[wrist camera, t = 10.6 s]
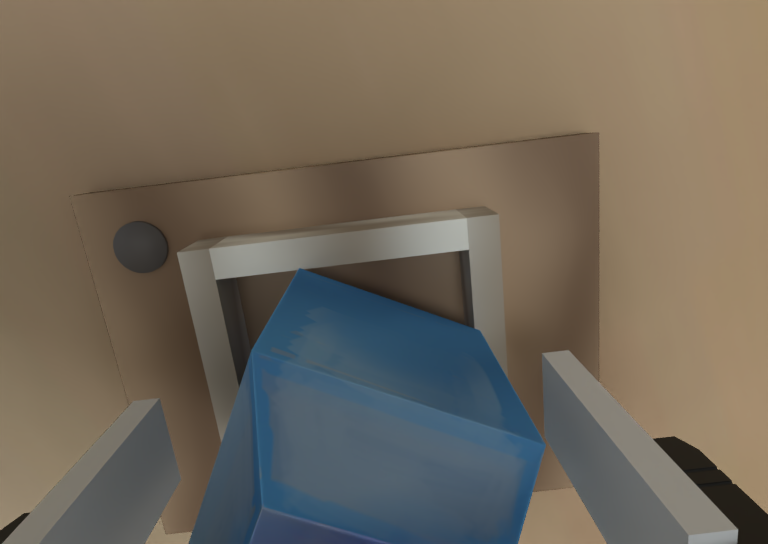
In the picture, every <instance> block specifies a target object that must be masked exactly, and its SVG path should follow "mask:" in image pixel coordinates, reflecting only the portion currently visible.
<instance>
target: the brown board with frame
mask: <svg viewBox="0 0 768 544" xmlns="http://www.w3.org/2000/svg"><path fill="white" fill-rule="evenodd" d="M69 197H70V200H71V204H72V207H73V211H74V214H75V218H76V221H77V225H78V228H79V232H80V235H81V239H82V242H83V246H84V249H85V253H86V256H87V260H88V263H89V267H90V270H91V274H92V277H93V281H94V284H95V288H96V291H97V295H98V298H99V302H100V305H101V309H102V312H103V316H104V319H105V323H106V326H107V330H108V333H109V337H110V340H111V344H112V347H113V351H114V354H115V358H116V361H117V365H118V368H119V372H120V375H121V379H122V382H123V386H124V389H125V393H126V396H127V400H128V403H129V405H130V404H131V403H132V402H133V401H139V400H147V399H156V398H160V401H161V405H162V409H163V412H164V416H165V420H166V424H167V428H168V431H169V435H170V439H171V443H172V446H173V450H174V454H175V458H176V461H177V465H178V469H179V473H180V476H181V480H180V482H179V484H178V486H177V487H176V489H175V491H174V493H173V494H172V496H171V498H170V500H169V502H168V503H167V505H166V507H165V509H164V510H163V512H162V514H161V519H162V523H163V526H164V530H165V533H166V534H173V533H182V532H191V531H193V529H194V526H195V523H196V519H197V516H198V513H199V510H200V507H201V504H202V501H203V498H204V495H205V492H206V489H207V486H208V483H209V479H210V476H211V473H212V470H213V467H214V464H215V461H216V458H217V455H218V452H219V449H220V446H221V443H222V439H223V436H224V433H225V430H226V427H227V424H228V421H229V418H230V415H231V412H232V409H233V406H234V403H235V399H236V396H237V393H238V390H239V387H240V384H241V381H242V378H243V375H244V372H245V369H246V366H247V363H248V359H249V356H250V353H251V350H252V348H253V347H254V345H255V343H256V342H257V340H258V338H259V336H260V335H261V333H262V331H263V329H264V328H265V326H266V324H267V323H268V321H269V319H270V317H271V316H272V314H273V312H274V310H275V309H276V307H277V305H278V304H279V302H280V300H281V298H282V297H283V295H284V293H285V291H286V290H287V288H288V286H289V285H290V283H291V281H292V279H293V278H294V276H295V274H296V272H297V271H298V269H299V268H301V269H304V270H307V271H309V272H312V273H315V274H318V275H321V276H324V277H327V278H330V279H333V280H335V281H338V282H341V283H344V284H347V285H350V286H353V287H356V288H359V289H362V290H364V291H367V292H370V293H373V294H376V295H379V296H382V297H385V298H388V299H391V300H393V301H396V302H399V303H402V304H405V305H408V306H411V307H414V308H417V309H420V310H422V311H425V312H428V313H431V314H434V315H437V316H440V317H443V318H446V319H448V320H451V321H454V322H457V323H460V324H463V325H466V326H469V327H472V328H475V329H477V330H480V331H481V333H482V334H483V336H484V338H485V340H486V341H487V343H488V345H489V347H490V348H491V350H492V352H493V354H494V355H495V357H496V359H497V361H498V362H499V364H500V366H501V367H502V369H503V371H504V373H505V374H506V376H507V378H508V380H509V381H510V383H511V385H512V387H513V388H514V390H515V392H516V394H517V395H518V397H519V399H520V401H521V402H522V404H523V406H524V407H525V409H526V411H527V413H528V414H529V416H530V418H531V420H532V421H533V423H534V425H535V427H536V428H537V430H538V432H539V434H540V435H541V437H542V439H543V440H544V442H545V444H546V447H545V450H544V454H543V457H542V461H541V464H540V468H539V471H538V475H537V478H536V482H535V485H534V489H533V492H537V491H546V490H555V489H563V488H572V487H574V486H573V484H572V483H571V481H570V479H569V478H568V476H567V474H566V472H565V471H564V469H563V467H562V466H561V464H560V462H559V461H558V459H557V457H556V455H555V454H554V452H553V450H552V449H551V447H550V445H549V443H548V442H547V440H546V438H545V432H544V402H543V372H542V353H548V352H556V351H565V350H569V351H570V352H571V353H572V354H573V355H574V356H575V357H576V359H577V360H578V361H579V362H580V363H581V364H582V365H583V366H584V367H585V368H586V369H587V370H588V371H589V372H590V373H591V374H592V375H593V376H594V378H595V379H596V380H597V381H598V382H599V133H582V134H573V135H565V136H557V137H548V138H540V139H532V140H523V141H515V142H507V143H499V144H490V145H482V146H474V147H465V148H457V149H449V150H440V151H432V152H424V153H415V154H407V155H399V156H391V157H382V158H374V159H366V160H357V161H349V162H341V163H332V164H324V165H316V166H307V167H299V168H291V169H283V170H274V171H266V172H258V173H249V174H241V175H233V176H224V177H216V178H208V179H200V180H191V181H183V182H175V183H166V184H158V185H150V186H141V187H133V188H125V189H116V190H108V191H100V192H92V193H85V194H80V195H74V196H69Z"/></svg>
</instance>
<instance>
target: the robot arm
mask: <svg viewBox="0 0 768 544" xmlns="http://www.w3.org/2000/svg"><path fill="white" fill-rule="evenodd" d="M542 372H543V402H544V432H545V438H546V440H547V442H548V443H549V445H550V447H551V449H552V450H553V452H554V454H555V455H556V457H557V459H558V461H559V462H560V464H561V466H562V467H563V469H564V471H565V472H566V474H567V476H568V478H569V479H570V481H571V483H572V484H573V486H574V488H575V489H576V491H577V493H578V495H579V496H580V498H581V500H582V501H583V503H584V505H585V507H586V508H587V510H588V512H589V513H590V515H591V517H592V518H593V520H594V522H595V524H596V525H597V527H598V529H599V530H600V532H601V534H602V536H603V537H604V539H605V541H606V542H607V544H768V514H767V513H766V512H765V511H764V510H762V509H761V508H760V507H759V506H758V505H757V504H756V503H755V502H754V501H753V500H752V499H751V498H750V497H749V496H748V495H747V494H745V493H744V492H743V491H742V490H741V489H740V488H739V487H738V486H737V485H736V484H732V481H731V479H729V478H728V477H727V476H726V475H725V474H724V473H723V472H722V471H721V470H718V469H717V466H716V465H715V464H714V463H712V462H711V461H710V460H709V459H708V458H707V457H706V456H705V455H704V454H703V453H702V452H701V451H700V450H699V449H697V448H695V447H693V446H691V445H689V444H687V443H686V442H684V441H682V440H680V439H678V438H676V437H675V436H674V437H665V438H656V439H652V438H651V437H650V436H649V435H648V434H647V433H646V431H645V430H644V429H643V428H642V427H641V426H640V425H639V424H638V423H637V422H636V421H635V420H634V419H633V418H632V417H631V416H630V415H629V413H628V412H627V411H626V410H625V409H624V408H623V407H622V406H621V405H620V404H619V403H618V402H617V401H616V400H615V399H614V398H613V397H612V396H611V394H610V393H609V392H608V391H607V390H606V389H605V388H604V387H603V386H602V385H601V384H600V383H599V382H598V381H597V380H596V379H595V378H594V376H593V375H592V374H591V373H590V372H589V371H588V370H587V369H586V368H585V367H584V366H583V365H582V364H581V363H580V362H579V361H578V360H577V359H576V357H575V356H574V355H573V354H572V353H571V352H570V351H569V350H565V351H556V352H548V353H542ZM180 480H181V476H180V473H179V469H178V465H177V461H176V458H175V454H174V450H173V446H172V443H171V439H170V435H169V431H168V428H167V424H166V420H165V416H164V412H163V409H162V405H161V401H160V398H156V399H147V400H139V401H133V402H132V403H131V404H130V405H129V406H128V407H127V409H126V410H125V411H124V412H123V413H122V414H121V415H120V416H119V417H118V418H117V419H116V420H115V422H114V423H113V424H112V425H111V426H110V427H109V428H108V429H107V430H106V431H105V432H104V434H103V435H102V436H101V437H100V438H99V439H98V440H97V441H96V442H95V443H94V444H93V445H92V447H91V448H90V449H89V450H88V451H87V452H86V453H85V454H84V455H83V456H82V457H81V458H80V460H79V461H78V462H77V463H76V464H75V465H74V466H73V467H72V468H71V469H70V470H69V471H68V473H67V474H66V475H65V476H64V477H63V478H62V479H61V480H60V481H59V482H58V483H57V484H56V486H55V487H54V488H53V489H52V490H51V491H50V492H49V493H48V494H47V495H46V496H45V497H44V499H43V500H42V501H41V502H40V503H39V504H38V505H37V506H36V507H35V508H34V509H33V511H32V512H31V513H24V514H22V515H21V516H20V517H18V518H17V519H16V520H14V521H13V522H11V523H10V524H9V525H7V526H6V527H4V528H3V529H2V530H0V544H145V542H146V540H147V539H148V537H149V535H150V533H151V532H152V530H153V528H154V526H155V525H156V523H157V521H158V519H159V517H160V516H161V514H162V512H163V510H164V509H165V507H166V505H167V503H168V502H169V500H170V498H171V496H172V494H173V493H174V491H175V489H176V487H177V486H178V484H179V482H180Z"/></svg>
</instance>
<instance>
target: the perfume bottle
mask: <svg viewBox="0 0 768 544" xmlns="http://www.w3.org/2000/svg"><path fill="white" fill-rule="evenodd" d="M545 447H546V444H545V442H544V440H543V439H542V437H541V435H540V434H539V432H538V430H537V428H536V427H535V425H534V423H533V421H532V420H531V418H530V416H529V414H528V413H527V411H526V409H525V407H524V406H523V404H522V402H521V401H520V399H519V397H518V395H517V394H516V392H515V390H514V388H513V387H512V385H511V383H510V381H509V380H508V378H507V376H506V374H505V373H504V371H503V369H502V367H501V366H500V364H499V362H498V361H497V359H496V357H495V355H494V354H493V352H492V350H491V348H490V347H489V345H488V343H487V341H486V340H485V338H484V336H483V334H482V333H481V331H480V330H477V329H475V328H472V327H469V326H466V325H463V324H460V323H457V322H454V321H451V320H448V319H446V318H443V317H440V316H437V315H434V314H431V313H428V312H425V311H422V310H420V309H417V308H414V307H411V306H408V305H405V304H402V303H399V302H396V301H393V300H391V299H388V298H385V297H382V296H379V295H376V294H373V293H370V292H367V291H364V290H362V289H359V288H356V287H353V286H350V285H347V284H344V283H341V282H338V281H335V280H333V279H330V278H327V277H324V276H321V275H318V274H315V273H312V272H309V271H307V270H304V269H301V268H299V269H298V271H297V272H296V274H295V276H294V278H293V279H292V281H291V283H290V285H289V286H288V288H287V290H286V291H285V293H284V295H283V297H282V298H281V300H280V302H279V304H278V305H277V307H276V309H275V310H274V312H273V314H272V316H271V317H270V319H269V321H268V323H267V324H266V326H265V328H264V329H263V331H262V333H261V335H260V336H259V338H258V340H257V342H256V343H255V345H254V347H253V348H252V350H251V353H250V356H249V359H248V363H247V366H246V369H245V372H244V375H243V378H242V381H241V384H240V387H239V390H238V393H237V396H236V399H235V403H234V406H233V409H232V412H231V415H230V418H229V421H228V424H227V427H226V430H225V433H224V436H223V439H222V443H221V446H220V449H219V452H218V455H217V458H216V461H215V464H214V467H213V470H212V473H211V476H210V479H209V483H208V486H207V489H206V492H205V495H204V498H203V501H202V504H201V507H200V510H199V513H198V516H197V519H196V523H195V526H194V529H193V532H192V535H191V538H190V541H189V544H518V541H519V538H520V534H521V531H522V527H523V524H524V520H525V517H526V513H527V510H528V506H529V503H530V499H531V496H532V492H533V489H534V485H535V482H536V478H537V475H538V471H539V468H540V464H541V461H542V457H543V454H544V450H545Z"/></svg>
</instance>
